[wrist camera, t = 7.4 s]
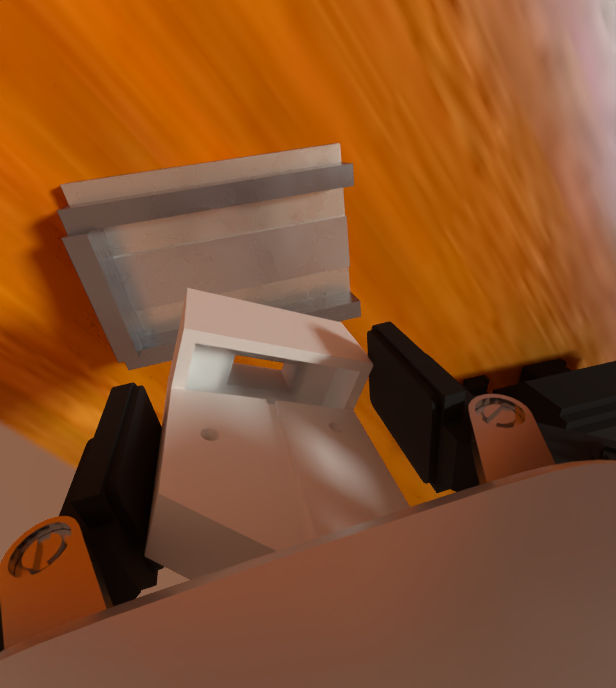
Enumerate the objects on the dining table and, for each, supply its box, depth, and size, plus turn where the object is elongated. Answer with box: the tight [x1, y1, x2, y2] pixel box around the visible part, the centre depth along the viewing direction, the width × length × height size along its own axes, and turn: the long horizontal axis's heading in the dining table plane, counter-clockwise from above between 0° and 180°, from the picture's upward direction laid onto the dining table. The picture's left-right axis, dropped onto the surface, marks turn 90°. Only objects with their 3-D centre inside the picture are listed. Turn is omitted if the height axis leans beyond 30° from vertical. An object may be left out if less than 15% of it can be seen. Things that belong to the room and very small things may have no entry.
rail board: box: [57, 143, 361, 370], centre depth 23 cm, size 16×12×4 cm
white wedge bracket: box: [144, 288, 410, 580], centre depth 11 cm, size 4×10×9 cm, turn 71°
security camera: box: [462, 359, 616, 441], centre depth 34 cm, size 7×18×10 cm, turn 94°
